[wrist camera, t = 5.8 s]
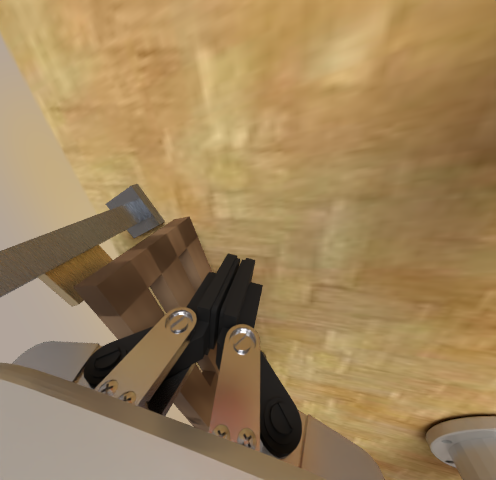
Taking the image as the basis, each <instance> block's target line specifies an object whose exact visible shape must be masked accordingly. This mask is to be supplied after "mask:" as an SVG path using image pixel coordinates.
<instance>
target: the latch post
mask: <svg viewBox="0 0 496 480" xmlns="http://www.w3.org/2000/svg"><path fill="white" fill-rule="evenodd" d="M106 205H107V207H108V208H109V209H110V210H108V211H106V212H103V213H100V214H98V215H95V216H92V217H90V218H87V219H84V220H82V221H79V222H77V223H74V224H71V225H68V226H66V227H63V228H60V229H58V230H55V231H52V232H50V233H47V234H45V235H42V236H39V237H37V238H34V239H31V240H29V241H26V242H23V243H21V244H18V245H15V246H13V247H10V248H7V249H5V250H2V251H0V297H2V296H4V295H6V294H8V293H9V292H11V291H13V290H15V289H17V288H19V287H21V286H23V285H24V284H26V283H28V282H30V281H32V280H34V279H36V278H37V277H38V278H39V279H40V280H42V281H43V282H44V283H45V284H46V285H48V286H49V287H50V288H51V289H52V290H53V291H54V292H56V293H57V294H58V295H59V296H60V297H62V298H63V299H64V300H65V301H66V302H67V303H68V304H70V305H71V306H75V305H78V304H80V303H81V302H82V301H84V299H83V298H82V297H81V296H80V295H79V294H78V293H77V291H76V290H75V289H74V288H73V287H74V286H75V285H77V284H78V283H80V282H81V281H83V280H84V279H86V278H87V277H89V276H90V275H92V274H93V273H95V272H96V271H98V270H99V269H101V268H102V267H104V266H105V265H107V264H108V263H110V262H111V261H113V260H112V259H111V258H110V257H109V256H108V254H106V252H105V251H104V250H103V249H102V248H101V247H100V246H99V244H101V243H103V242H105V241H106V240H108V239H110V238H112V237H114V236H116V235H118V234H119V233H121V232H123V231H125V230H127V231H128V232H129V233H130V234H131V235H132V237H133V238H136V237H137V236H139V235H141V234H143V233H145V232H147V231H149V230H151V229H152V228H154V227H156V226H158V225H160V224H162V223H163V222H165V221H164V220H163V219H162V217H161V216H160V215H159V213H158V212H157V210H156V209H155V208H154V206H153V205H152V204H151V202H150V201H149V199H148V198H147V197H146V195H145V194H144V193H143V191H142V190H141V188H140V187H139V186H138V184H136V185H132V186H130V187H129V188H127V189H126V190H125V191H123V192H122V193H120V194H119V195H118V196H116V197H115V198H113V199H112V200H111V201H109V202H108V203H107V204H106Z"/></svg>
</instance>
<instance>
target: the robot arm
mask: <svg viewBox="0 0 496 480" xmlns="http://www.w3.org/2000/svg"><path fill="white" fill-rule="evenodd" d="M239 263H240V259H238V258H237V256H236V255H232V254H227V256H226V258H225V259H224V261H223V263H222V265H221V266H220V268H219V270H218V271H217V273H213V272H209V273H208V274H207V276H206V277H205V279H204V280H203V282H202V283H201V285H200V287H199V288H198V290H197V291H196V293H195V294H194V296H193V297H192V299H191V300H190V302H189V304H188V305H187V307H179V308H175V309H173V310H171V311H169V312H168V313H167V314H166V315H165V316H164V317H163V318H162V319H161V320H160V321H159V322H158V323H157V324H156V325H155V326H153V327H150V328H148V329H145V330H142V331H140V332H137V333H135V334H132V335H129V336H127V337H124V338H121V339H119V340H116V341H114V342H111V343H109V344H107V345H105V346H100V345H99V344H97V343H77V342H55V341H50V342H43V343H41V344H38V345H36V346H34V347H32V348H30V349H28V350H27V351H25V353H23V354H22V355H20V356H19V357H18V358H17V359H16V360H15V361H14V362H13V363H12V364H8V363H0V480H385V479H384V477H383V475H382V472H381V470H380V468H379V466H378V465H377V464H376V462H375V461H374V459H373V458H372V457H371V456H370V455H369V454H368V453H367V452H366V451H365V450H363V449H362V448H360V447H359V446H357V445H356V444H354V443H353V442H351V441H350V440H348V439H346V438H345V437H343V436H342V435H340V434H339V433H337V432H336V431H334V430H332V429H331V428H329V427H328V426H326V425H325V424H323V423H322V422H320V421H319V420H317V419H315V418H314V417H312V416H311V415H308V416H307V415H305V414H304V413H302V412H301V411H299V410H297V407H296V405H295V404H294V402H293V401H292V399H291V398H290V396H289V394H288V393H287V391H286V390H285V388H284V387H283V385H282V383H281V382H280V380H279V379H278V377H277V376H276V374H275V372H274V371H273V369H272V368H271V366H270V365H269V363H268V361H267V360H266V358H265V357H264V355H263V353H262V352H261V350H260V338H259V335H258V333H257V332H256V331H255V330H254V325H255V320H256V316H257V311H258V306H259V301H260V296H261V291H262V286H263V285H260V284H256V283H252V282H251V280H252V275H253V270H254V265H255V260H253V259H249V258H246V260H242V261H241V264H240V266H239ZM216 343H217V350H216V351H217V352H216V365H217V367H218V370H219V376H218V382H217V388H216V393H215V399H214V404H213V410H212V415H211V421H210V426H209V432H206V431H203V430H200V429H198V428H195V427H192V426H190V425H187V424H184V423H182V422H179V421H176V420H174V419H171V418H168V417H166V414H167V412H168V410H169V409H170V407H171V406H172V404H173V402H174V400H175V399H176V397H177V395H178V394H179V392H180V390H181V389H182V387H183V385H184V384H185V382H186V380H187V379H188V377H189V375H190V373H191V372H192V370H193V368H194V367H195V364H196V362H198V361H199V360H201V359H203V357H204V355H208V354H209V351H210V349H213V350H214V348H215V346H216ZM426 441H427V443H428V445H429V447H430V450H431V452H432V453H433V454H434V455H435V456H436V457H437V458H438V459H440V460H441V461H442V462H444V463H446V464H448V465H450V466H452V467H455V468H457V470H458V472H459V474H460V476H461V477H462V479H463V480H496V416H477V417H465V418H458V419H452V420H449V421H445V422H442V423H439V424H437V425H435V426H433V427H432V428H430V429H429V430H428V432H427V434H426Z"/></svg>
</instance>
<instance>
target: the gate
mask: <svg viewBox="0 0 496 480" xmlns="http://www.w3.org/2000/svg"><path fill="white" fill-rule="evenodd" d="M209 272H212V271H211V268H210V266H209V263H208V261H207V258H206V256H205V254H204V251H203V249H202V246H201V244H200V241H199V239H198V236H197V234H196V231H195V229H194V226H193V224H192V222H191V219H190V217H185V218H179V219H174V220H173V221H171V222H170V223H168V224H167V225H165V226H164V227H162V228H161V229H159V230H158V231H156V232H155V233H153V234H152V235H150V236H149V237H147V238H146V239H144V240H143V241H141V242H140V243H138V244H137V245H135V246H134V247H132V248H131V249H129V250H128V251H126V252H125V253H123V254H122V255H120V256H119V257H117V258H116V259H114V260H113V261H111V262H110V263H108V264H107V265H105V266H104V267H102V268H101V269H99V270H98V271H96V272H95V273H93V274H92V275H90V276H89V277H87V278H86V279H84V280H83V281H81V282H80V283H78V284H77V285H75V286H74V287H73V288H74V289H75V290H76V291H77V293H78V294H79V295H80V296H81V297H82V298H83V299H84V301H85V302H86V303H87V304H88V305H89V306H90V308H91V309H92V310H93V311H94V312H95V313H96V314H97V316H98V317H99V318H100V319H101V320H102V321H103V323H104V324H105V325H106V326H107V327H108V328H109V329H110V331H111V332H112V333H113V334H114V335H115V336H116V337H117V339H118V340H119V339H121V338H124V337H127V336H129V335H132V334H135V333H137V332H140V331H142V330H145V329H148V328H150V327H153V326H155V325H156V324H157V323H158V322H159V321H160V320H161V319H162V318H163V317H164V316H165V314H164V313H163V311H162V310H161V308H160V306H159V305H158V303H157V302H156V300H155V298H154V297H153V295H152V294H151V292H150V290H149V289H148V288H149V286H150V287H151V289H152V291H153V292H154V294H155V295H156V297H157V299H158V300H159V302H160V304H161V305H162V307H163V308H164V310H165V312H166V313H168V312H169V311H171V310H173V309H175V308H179V307H187V305H188V304H189V302H190V300H191V299H192V297H193V296H194V294H195V293H196V291H197V290H198V288H199V287H200V285H201V283H202V282H203V280H204V279H205V277H206V276H207V274H208V273H209ZM216 350H217V343H216V346H215V348H214V350H213V349H210V351H209V354H208V355H204V357H203V359H201V360H199V361H198V362H197V363H198V365H199V366H200V368H201V369H202V371H203V372H202V373H201V371H200V370H199V368H198V367H197V365H196V364H195V367H194V368H193V370H192V372H191V373H190V375H189V377H188V379H187V380H186V382H185V384H184V385H183V387H182V389H181V390H180V392H179V394H178V395H177V397H176V399H175V400H174V402H173V403H174V404H175V405H176V407H177V408H178V409H179V410H180V411H181V412H182V414H183V415H184V416H185V417H186V418H187V419H188V420H189V422H190V423H191V424H192V425H193V426H194V427H195V428H198V429H200V430H203V431H206V432H209V426H210V421H211V415H212V410H213V404H214V399H215V393H216V388H217V382H218V376H219V370H218V367H217V365H216V352H217V351H216Z"/></svg>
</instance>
